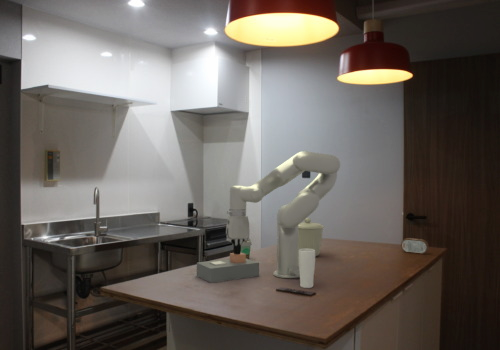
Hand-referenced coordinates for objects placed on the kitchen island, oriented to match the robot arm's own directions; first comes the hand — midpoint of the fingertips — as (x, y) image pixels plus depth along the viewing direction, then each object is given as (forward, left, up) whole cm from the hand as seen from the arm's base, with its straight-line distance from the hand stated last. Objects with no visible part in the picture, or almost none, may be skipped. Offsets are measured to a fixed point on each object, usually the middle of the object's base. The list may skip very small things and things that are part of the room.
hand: (237, 253), depth 201 cm
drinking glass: (-32, -14, -10) cm, 37 cm away
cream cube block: (0, +10, -8) cm, 13 cm away
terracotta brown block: (0, 0, -6) cm, 6 cm away
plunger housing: (0, +5, -10) cm, 11 cm away
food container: (+26, -19, -10) cm, 34 cm away
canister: (+20, -56, -10) cm, 60 cm away
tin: (-5, -115, -10) cm, 116 cm away
